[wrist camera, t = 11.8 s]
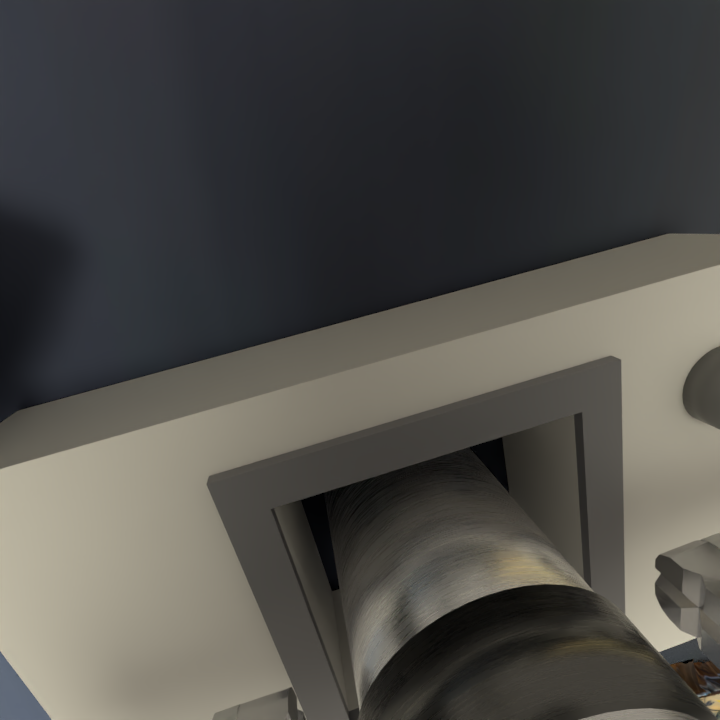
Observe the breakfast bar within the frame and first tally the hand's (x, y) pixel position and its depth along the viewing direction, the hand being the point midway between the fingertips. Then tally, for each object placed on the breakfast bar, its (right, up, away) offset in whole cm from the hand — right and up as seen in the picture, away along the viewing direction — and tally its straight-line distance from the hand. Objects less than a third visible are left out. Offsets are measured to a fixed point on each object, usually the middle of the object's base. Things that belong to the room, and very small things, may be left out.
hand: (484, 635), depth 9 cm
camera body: (-1, +2, +6) cm, 6 cm away
